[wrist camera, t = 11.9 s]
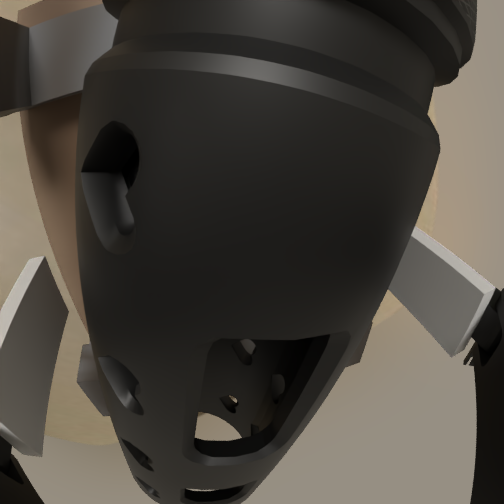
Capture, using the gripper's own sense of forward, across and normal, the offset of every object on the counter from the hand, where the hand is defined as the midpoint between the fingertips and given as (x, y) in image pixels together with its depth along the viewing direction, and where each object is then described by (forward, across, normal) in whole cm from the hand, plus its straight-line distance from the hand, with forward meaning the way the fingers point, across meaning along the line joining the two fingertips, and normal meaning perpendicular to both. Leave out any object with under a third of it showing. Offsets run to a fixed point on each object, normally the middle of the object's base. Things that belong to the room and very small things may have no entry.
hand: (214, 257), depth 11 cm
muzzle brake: (+4, 0, 0) cm, 4 cm away
